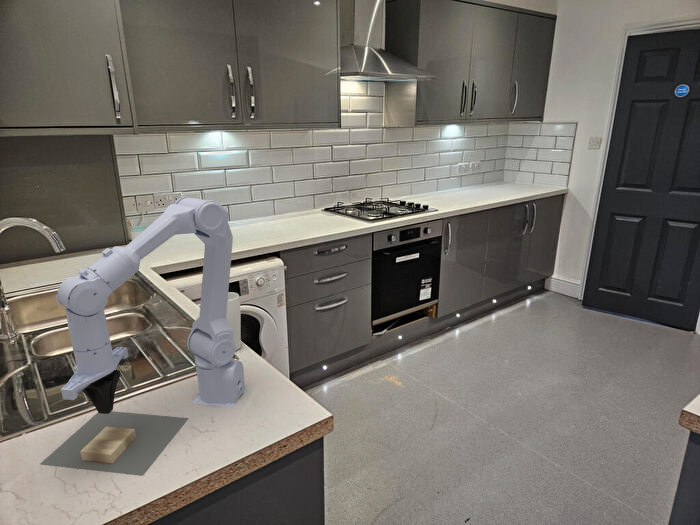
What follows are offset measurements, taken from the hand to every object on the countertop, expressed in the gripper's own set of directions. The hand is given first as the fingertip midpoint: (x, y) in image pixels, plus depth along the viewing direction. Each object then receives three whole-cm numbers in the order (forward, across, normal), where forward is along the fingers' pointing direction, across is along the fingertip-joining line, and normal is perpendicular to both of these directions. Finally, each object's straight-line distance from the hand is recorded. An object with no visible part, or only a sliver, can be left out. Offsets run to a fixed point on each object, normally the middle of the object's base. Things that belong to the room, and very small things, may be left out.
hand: (105, 411), depth 83 cm
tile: (+6, -3, 0) cm, 7 cm away
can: (+9, -131, -78) cm, 153 cm away
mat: (+8, -2, 0) cm, 8 cm away
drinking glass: (+9, -41, +6) cm, 42 cm away
